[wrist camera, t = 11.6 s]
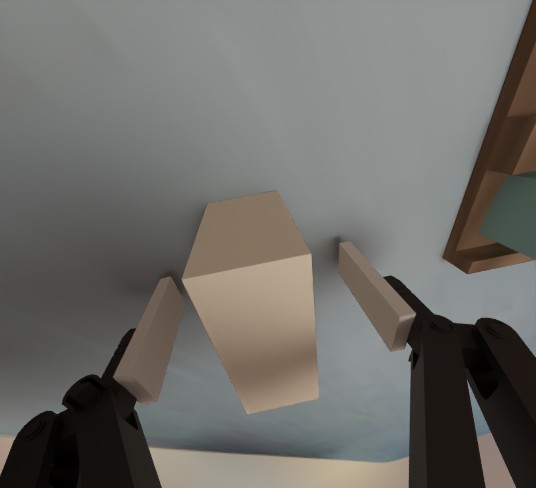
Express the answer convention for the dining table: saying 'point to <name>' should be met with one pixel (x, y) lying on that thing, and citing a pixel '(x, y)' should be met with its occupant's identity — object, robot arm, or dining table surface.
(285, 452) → the dining table surface
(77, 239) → the dining table surface
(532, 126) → the rack
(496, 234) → the teal rectangular block
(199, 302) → the beige rectangular block
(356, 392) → the dining table surface
